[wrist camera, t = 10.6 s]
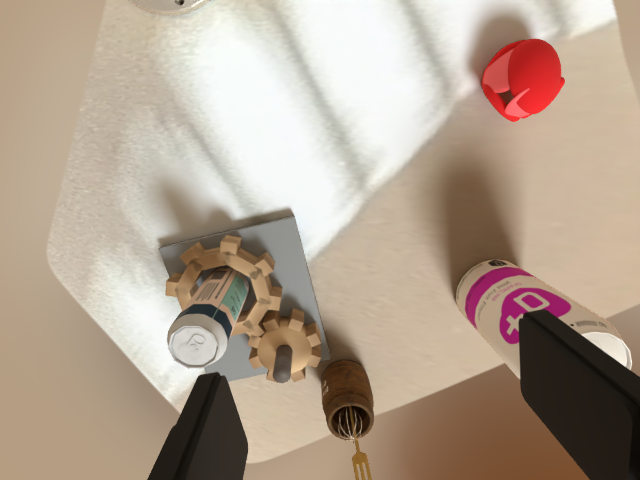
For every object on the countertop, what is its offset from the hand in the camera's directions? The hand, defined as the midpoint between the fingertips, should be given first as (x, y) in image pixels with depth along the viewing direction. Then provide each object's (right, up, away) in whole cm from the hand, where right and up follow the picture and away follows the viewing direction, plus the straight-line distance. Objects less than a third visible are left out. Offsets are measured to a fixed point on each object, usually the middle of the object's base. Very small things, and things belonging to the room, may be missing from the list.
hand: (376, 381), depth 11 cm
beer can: (-12, -1, +28) cm, 30 cm away
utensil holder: (+1, -13, +33) cm, 35 cm away
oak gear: (-12, -1, +28) cm, 30 cm away
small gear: (-6, -7, +30) cm, 31 cm away
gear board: (-10, -3, +29) cm, 31 cm away
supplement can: (+18, -1, +30) cm, 35 cm away
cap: (+17, +20, +24) cm, 35 cm away
